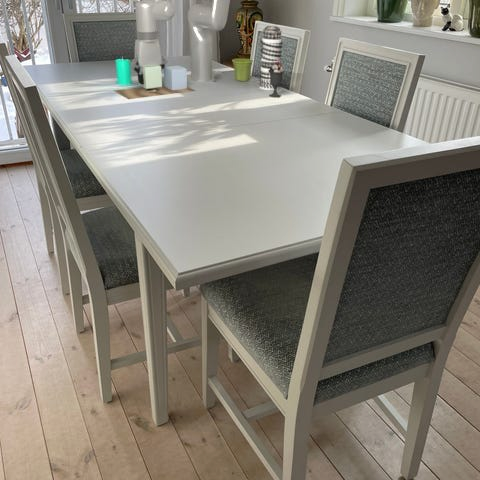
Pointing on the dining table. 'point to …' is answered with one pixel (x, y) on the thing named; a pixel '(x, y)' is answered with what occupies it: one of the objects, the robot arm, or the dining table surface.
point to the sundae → (276, 77)
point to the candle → (123, 71)
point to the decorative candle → (269, 54)
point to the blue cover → (175, 77)
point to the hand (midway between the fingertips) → (150, 82)
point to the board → (149, 92)
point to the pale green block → (152, 77)
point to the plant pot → (242, 69)
